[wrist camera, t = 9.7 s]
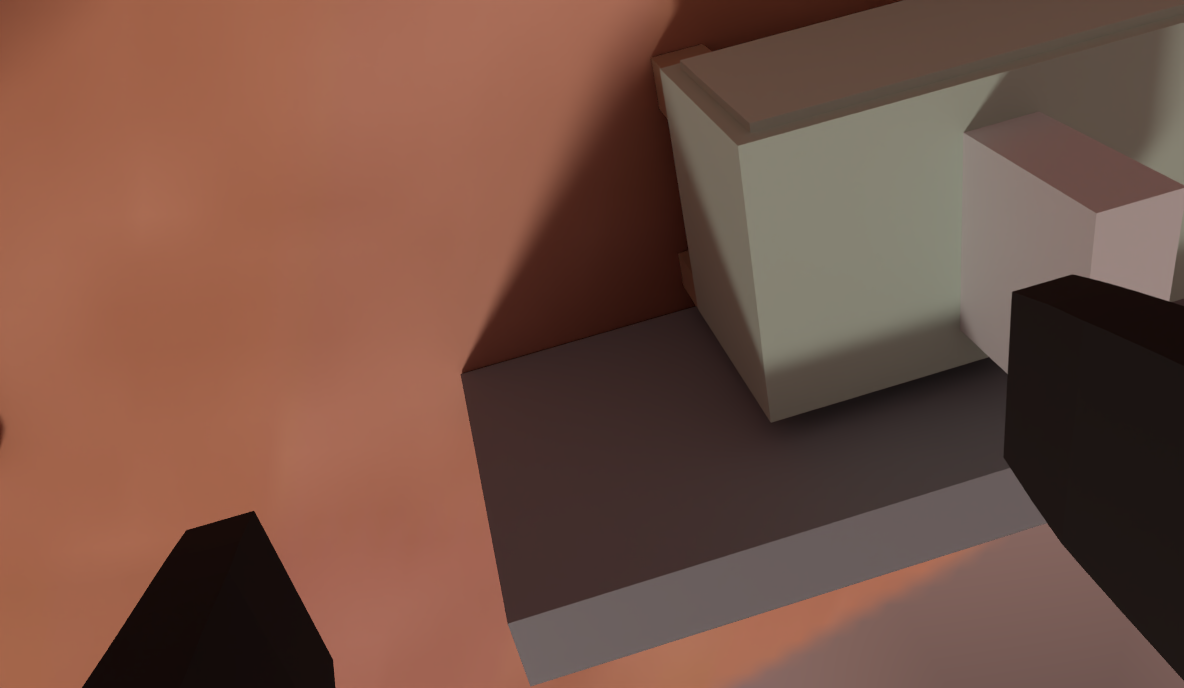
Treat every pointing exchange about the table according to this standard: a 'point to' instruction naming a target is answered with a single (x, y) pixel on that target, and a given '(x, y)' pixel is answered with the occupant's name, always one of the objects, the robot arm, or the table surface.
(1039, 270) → the grey block
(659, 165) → the table surface
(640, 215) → the table surface
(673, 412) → the wall board
